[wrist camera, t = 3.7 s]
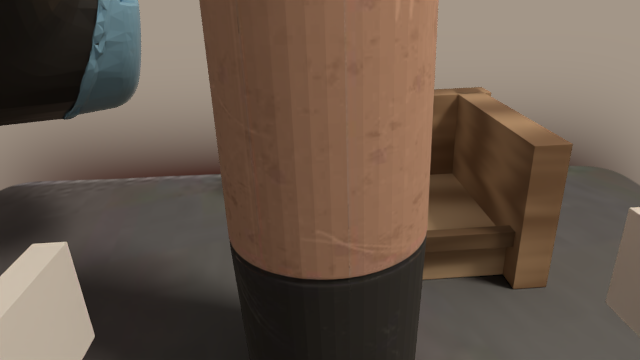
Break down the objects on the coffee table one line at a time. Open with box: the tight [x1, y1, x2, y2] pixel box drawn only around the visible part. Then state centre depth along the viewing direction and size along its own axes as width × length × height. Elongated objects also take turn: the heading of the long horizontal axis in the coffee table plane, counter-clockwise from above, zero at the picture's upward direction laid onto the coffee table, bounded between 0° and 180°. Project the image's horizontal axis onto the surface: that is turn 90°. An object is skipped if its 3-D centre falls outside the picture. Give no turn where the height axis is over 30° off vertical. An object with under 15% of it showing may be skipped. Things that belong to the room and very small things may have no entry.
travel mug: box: [200, 0, 438, 360], centre depth 18 cm, size 8×8×20 cm
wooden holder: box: [422, 87, 573, 289], centre depth 32 cm, size 14×15×9 cm
